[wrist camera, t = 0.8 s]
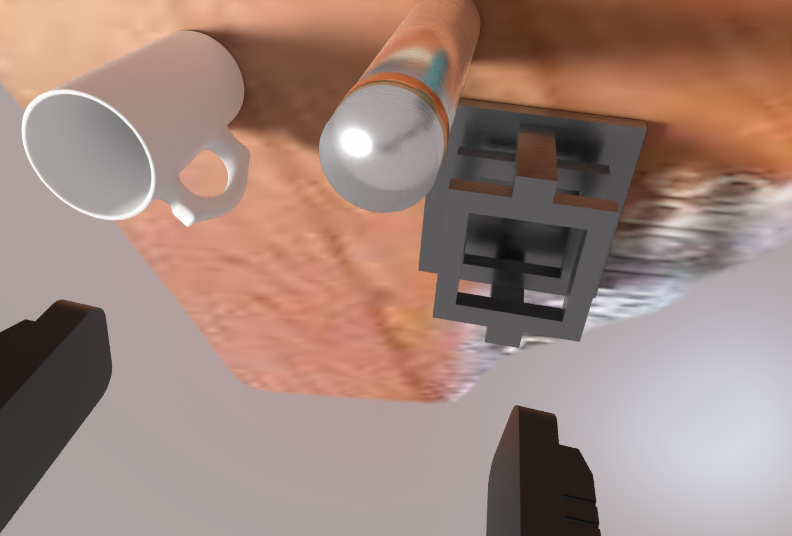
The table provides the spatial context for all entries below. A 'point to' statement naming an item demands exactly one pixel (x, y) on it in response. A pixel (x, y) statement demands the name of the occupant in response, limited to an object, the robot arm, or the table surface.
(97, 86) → the mug
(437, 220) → the collar stand
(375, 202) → the steel tube
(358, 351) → the table surface
